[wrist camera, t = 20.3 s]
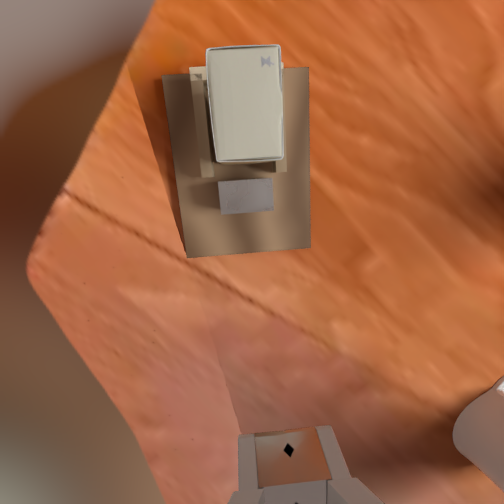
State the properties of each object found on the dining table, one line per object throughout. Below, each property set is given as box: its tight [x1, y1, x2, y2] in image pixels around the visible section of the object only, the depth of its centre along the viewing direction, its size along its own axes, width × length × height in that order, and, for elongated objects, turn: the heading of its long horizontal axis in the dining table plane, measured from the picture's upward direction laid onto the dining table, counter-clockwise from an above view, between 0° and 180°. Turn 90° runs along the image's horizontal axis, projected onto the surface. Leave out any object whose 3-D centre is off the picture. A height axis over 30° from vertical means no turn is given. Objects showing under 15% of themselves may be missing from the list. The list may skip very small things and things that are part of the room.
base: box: [162, 62, 311, 258], centre depth 28 cm, size 14×18×4 cm
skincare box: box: [206, 44, 284, 165], centre depth 22 cm, size 6×4×12 cm
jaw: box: [218, 178, 274, 215], centre depth 27 cm, size 5×3×4 cm, turn 94°
